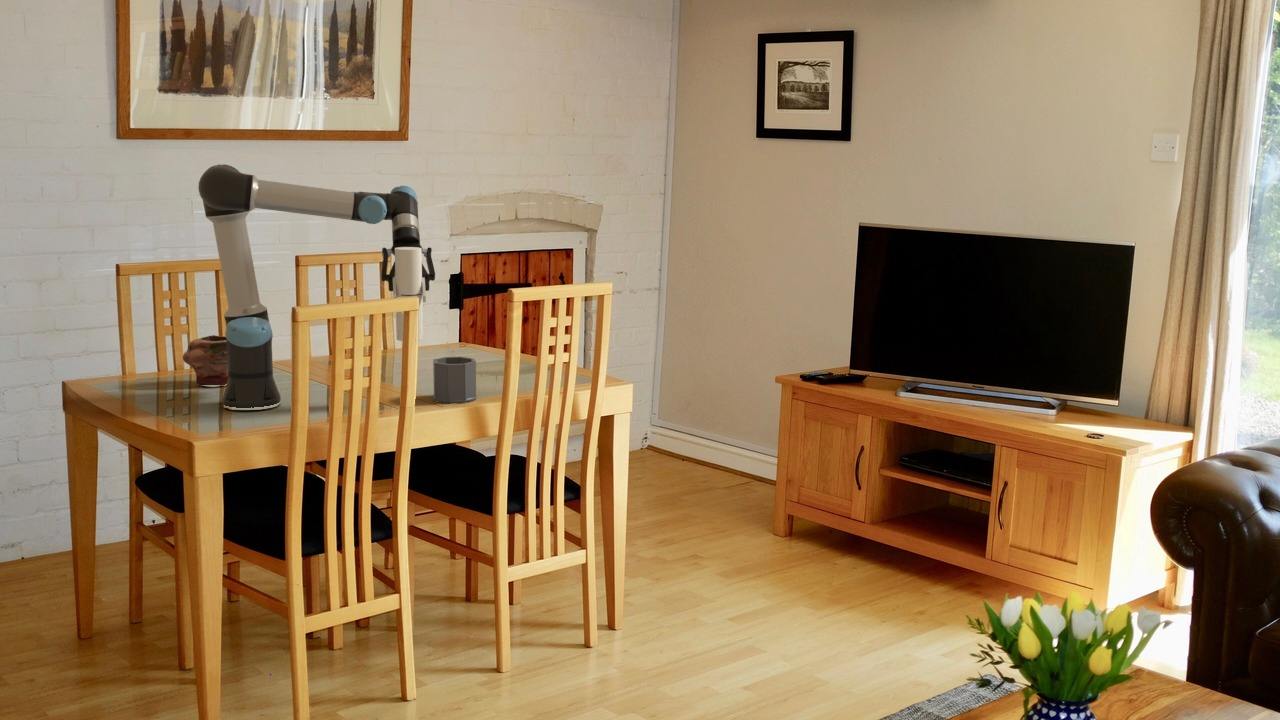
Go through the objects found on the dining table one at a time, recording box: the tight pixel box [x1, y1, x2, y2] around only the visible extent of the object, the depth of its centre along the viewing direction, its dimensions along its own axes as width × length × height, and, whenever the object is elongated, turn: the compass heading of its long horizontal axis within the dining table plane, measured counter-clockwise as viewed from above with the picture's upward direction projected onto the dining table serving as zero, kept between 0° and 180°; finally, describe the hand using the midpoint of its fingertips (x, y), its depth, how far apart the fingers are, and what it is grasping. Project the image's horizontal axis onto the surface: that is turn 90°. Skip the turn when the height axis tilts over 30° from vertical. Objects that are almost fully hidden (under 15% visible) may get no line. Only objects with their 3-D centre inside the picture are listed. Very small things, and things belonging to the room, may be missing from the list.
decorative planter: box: [182, 334, 228, 386], centre depth 361 cm, size 20×12×14 cm, turn 121°
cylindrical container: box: [394, 247, 424, 342], centre depth 336 cm, size 7×7×25 cm
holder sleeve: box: [432, 356, 477, 404], centre depth 348 cm, size 12×12×11 cm
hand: (409, 299), depth 333 cm, fingers closed on cylindrical container, 7 cm apart
